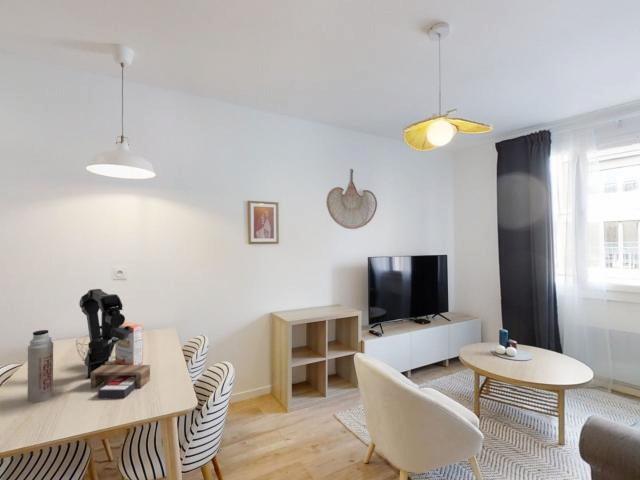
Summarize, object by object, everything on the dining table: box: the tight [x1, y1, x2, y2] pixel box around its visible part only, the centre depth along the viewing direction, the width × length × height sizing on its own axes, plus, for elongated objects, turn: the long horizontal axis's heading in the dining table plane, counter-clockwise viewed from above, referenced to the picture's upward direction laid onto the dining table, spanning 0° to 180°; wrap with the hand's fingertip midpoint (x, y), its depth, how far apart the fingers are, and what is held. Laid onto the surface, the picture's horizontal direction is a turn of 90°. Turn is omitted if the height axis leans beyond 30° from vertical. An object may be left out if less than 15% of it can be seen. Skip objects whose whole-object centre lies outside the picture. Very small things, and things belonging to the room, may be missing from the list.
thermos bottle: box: [27, 329, 54, 404], centre depth 131 cm, size 8×8×28 cm
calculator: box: [97, 376, 137, 400], centre depth 139 cm, size 11×4×15 cm
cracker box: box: [114, 321, 144, 365], centre depth 168 cm, size 14×6×21 cm, turn 68°
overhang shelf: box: [90, 364, 151, 390], centre depth 144 cm, size 22×8×7 cm, turn 92°
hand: (108, 356), depth 143 cm, fingers closed
